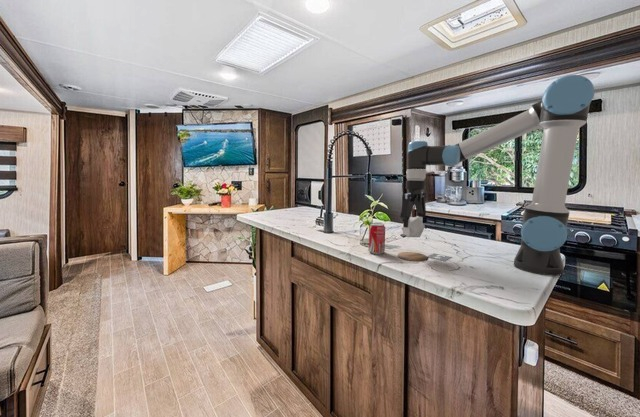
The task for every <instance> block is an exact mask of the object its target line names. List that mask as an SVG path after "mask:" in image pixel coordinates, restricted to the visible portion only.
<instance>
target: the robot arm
mask: <svg viewBox="0 0 640 417" xmlns="http://www.w3.org/2000/svg"><path fill="white" fill-rule="evenodd" d="M594 97H595V87H594V84H593V82H592V81H591V80H590V79H589V78H587V77H586V76H584V75H580V74H570V75H564V76H562V77H558V78H557V79H556V80H554V81H552V83H551V84H549V86H547V87H546V89H545V90H544V92H543V94H542V98H541V99H540V100H538V102H536V103H534V104H533V103H532V105H530V106H529V107H528V109H527V110H525V111H523V112H521V113H519V114H517V115H514V116H513V117H510V118H508V119H506V120H504V121H502V122H500V123H498V124H495V125H494V126H491V127H490V128H488V129H486V130H483V131H481V132H479V133H477V134H475V135H472V136H471V137H469V138H466V139H464V140H462V141H460V142H458V143H456V144H453V145H452V144H447V145H435V146H434V145H432V146H431V145H428V142H427V141H424V140H416V141H415V140H413V141H410V142H409V143H408V146H407V153H406V154H407V157H406V158H407V159H406V161H407V162H406V172H405V173H406V179H407V180H406V181H405V189H406V190H408V191H407V193H404V194H403V202H402V206H401V212H400V215H399V217H400V219H401V220H402V219H403V222H402V225H403V230H402V235H405V236H406V235H408V236H409V235H410V222H411V220H410V219H409V218H410V217H411V214H412V212H413V209H414V207H415V211H416V215H417V216H415V217H419V219H420V220H421V221H422V223H423V224H424V222H423V220H424V219H423V218H426V214H427V211H426V210H427V209H426V192H424V190H425V189H426V180H425V179H426V177H427V166H446V167H455V166H457V165H459V164H460V163H462V162H464V161H466V160H468V159H470V158H474V157H475V156H478V155H480V154H483V153H485V152H488V151H489V150H492V149H494V148H496V147H499V146H501V145H503V144H505V143H507V142H511V141H512V140H515V139H516V138H519V137H521V136H524V135H527V134H528V133H530V132H531V133H532V132H533V131H536V130H543V132H542V133H543V134H542V139H541V144H540V151H539V157H538V164H537V169H536V176H535V181H534V187H533V192H532V193H533V194H532V198H531V199H532V200H531V203H529V204H527V205H525V208H524V211H523V213H522V216H523V220H522V226H521V229H520V236H521V240H520V246H519V248H518V251H517V253H516V255H515V257H514V259H513V266H514V267H515V268H517V269H519V270H520V271H524V272H529V273H532V274H533V273H534V274H540V275H545V276H548V275H549V276H550V275H551V276H559V275H562V274H564V272H565V270H564V269H565V265H564V263H563V262H564V261H563V259H562V255H561V251H560V250H561V249H560V248H561V247H562V246H564V244H565V242H566V241H567V238H568V235H569V234H568V229H567V227H568V222H569V218H570V217H569V216H570V212H571V211H570V210H569V209H568V208H567V207H566V199H567V193H568V190H569V189H568V188H569V182H570V177H571V172H572V167H573V163H574V162H573V161H574V158H575V151H576V144H577V139H578V134H579V129H580V128H581V127H583V126H585V125H586V124H587V120H588V116H589V111H590V105H591V102H592V101H593V99H594ZM422 191H423V192H422Z"/></svg>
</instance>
